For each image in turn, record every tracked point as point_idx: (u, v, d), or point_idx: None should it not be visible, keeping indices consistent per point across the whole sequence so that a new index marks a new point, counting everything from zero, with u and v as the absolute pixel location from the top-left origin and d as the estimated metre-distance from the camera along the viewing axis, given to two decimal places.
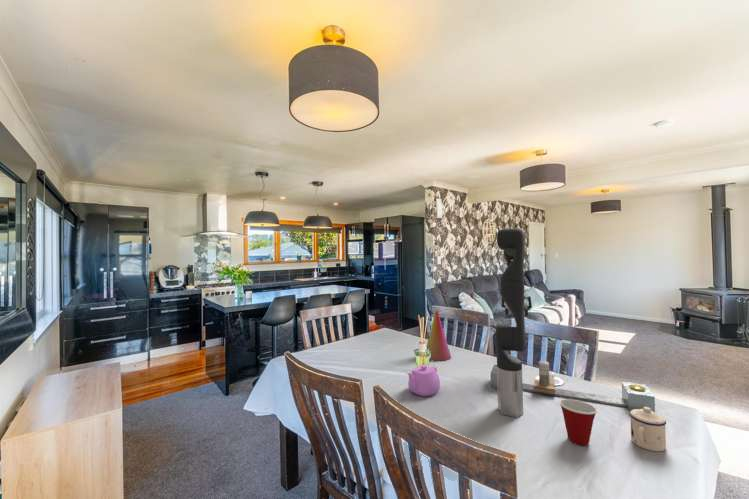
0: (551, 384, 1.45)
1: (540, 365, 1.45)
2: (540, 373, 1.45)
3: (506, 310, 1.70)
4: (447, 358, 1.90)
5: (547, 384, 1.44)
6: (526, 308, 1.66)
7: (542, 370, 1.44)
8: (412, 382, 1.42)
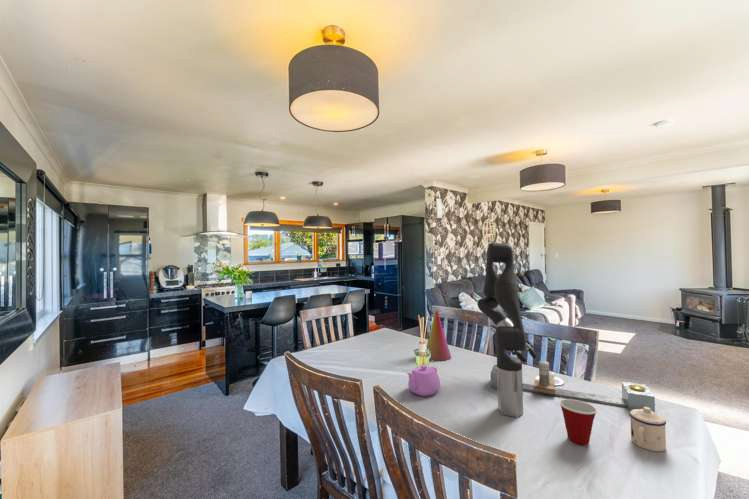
0: (551, 384, 1.45)
1: (540, 365, 1.45)
2: (540, 373, 1.45)
3: (521, 355, 1.49)
4: (447, 358, 1.90)
5: (547, 384, 1.44)
6: (531, 348, 1.55)
7: (542, 370, 1.44)
8: (412, 382, 1.42)
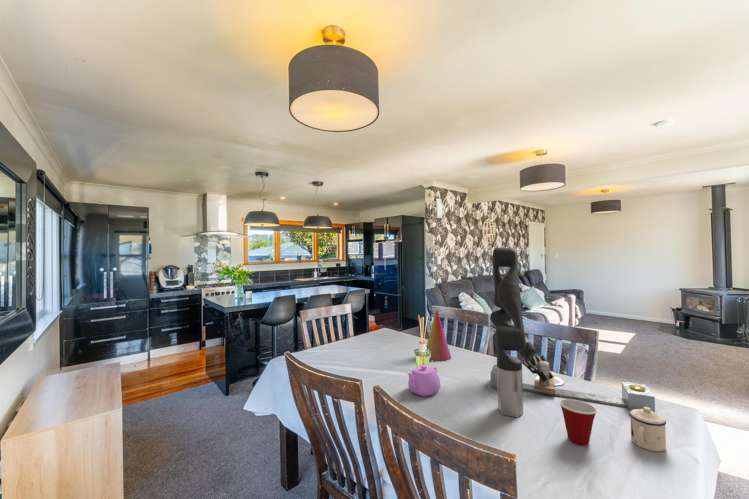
0: (551, 384, 1.45)
1: (540, 365, 1.45)
2: None
3: (541, 374, 1.44)
4: (447, 358, 1.90)
5: (547, 384, 1.44)
6: None
7: (542, 370, 1.44)
8: (412, 382, 1.42)
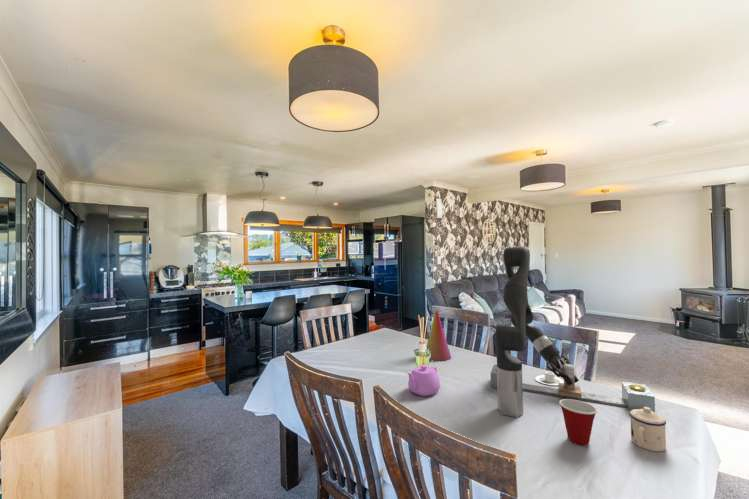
0: (576, 388, 1.41)
1: (565, 368, 1.41)
2: None
3: (567, 378, 1.39)
4: (447, 358, 1.90)
5: (572, 388, 1.39)
6: None
7: (567, 373, 1.40)
8: (412, 382, 1.42)
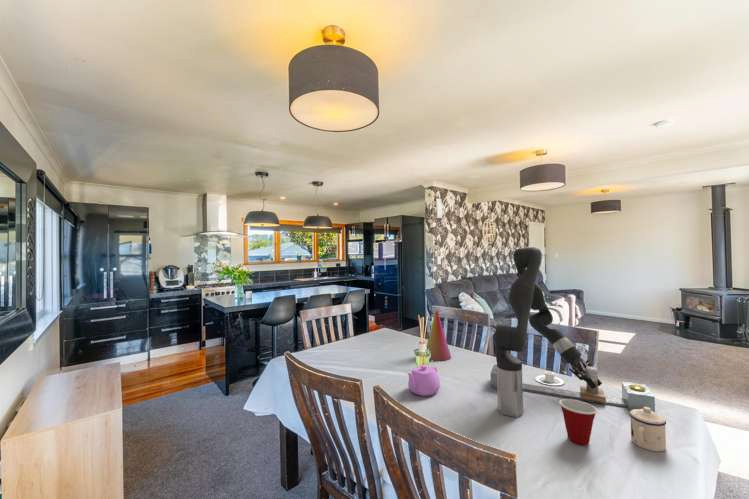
0: (600, 391, 1.37)
1: (588, 371, 1.37)
2: None
3: (590, 381, 1.35)
4: (447, 358, 1.90)
5: (596, 391, 1.35)
6: None
7: (590, 376, 1.36)
8: (412, 382, 1.42)
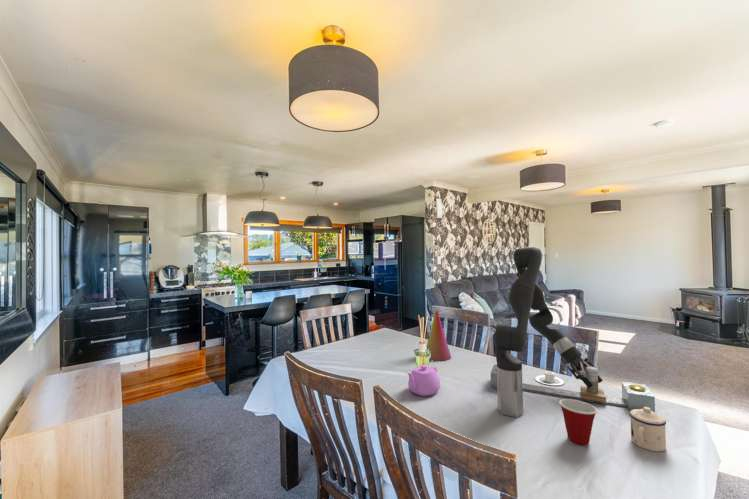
0: (600, 391, 1.37)
1: (588, 371, 1.37)
2: None
3: (586, 380, 1.35)
4: (447, 358, 1.90)
5: (596, 391, 1.35)
6: None
7: (591, 376, 1.36)
8: (412, 382, 1.42)
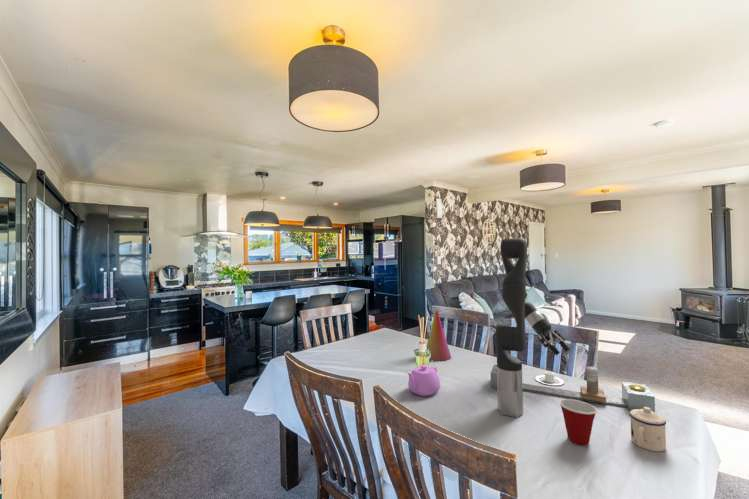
0: (600, 391, 1.37)
1: (588, 371, 1.37)
2: (588, 380, 1.37)
3: (554, 348, 1.46)
4: (447, 358, 1.90)
5: (596, 391, 1.35)
6: (563, 340, 1.52)
7: (591, 376, 1.36)
8: (412, 382, 1.42)
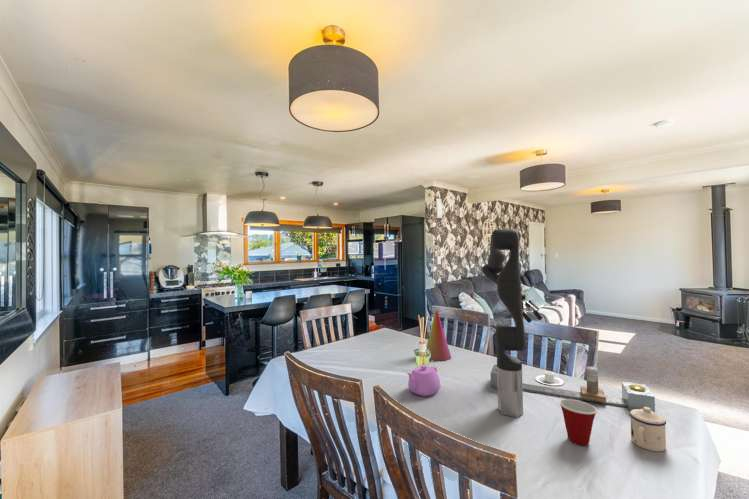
0: (600, 391, 1.37)
1: (588, 371, 1.37)
2: (588, 380, 1.37)
3: (526, 316, 1.49)
4: (447, 358, 1.90)
5: (596, 391, 1.35)
6: (537, 309, 1.55)
7: (591, 376, 1.36)
8: (412, 382, 1.42)
